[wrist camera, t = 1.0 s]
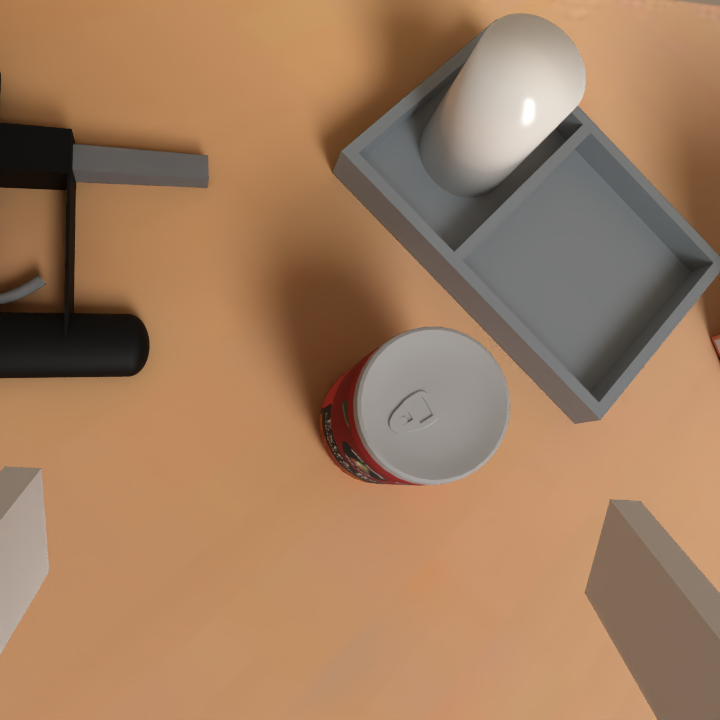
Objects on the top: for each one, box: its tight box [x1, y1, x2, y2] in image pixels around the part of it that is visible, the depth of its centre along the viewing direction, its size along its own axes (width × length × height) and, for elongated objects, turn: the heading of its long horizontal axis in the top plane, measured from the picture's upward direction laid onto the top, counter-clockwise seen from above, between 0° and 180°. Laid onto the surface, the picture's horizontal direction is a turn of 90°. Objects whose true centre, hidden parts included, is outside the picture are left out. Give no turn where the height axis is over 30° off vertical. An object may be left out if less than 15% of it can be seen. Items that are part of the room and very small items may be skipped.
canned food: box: [320, 327, 510, 485], centre depth 36 cm, size 8×8×11 cm
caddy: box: [332, 20, 720, 424], centre depth 45 cm, size 24×16×3 cm, turn 46°
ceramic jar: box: [420, 14, 586, 198], centre depth 41 cm, size 7×7×10 cm
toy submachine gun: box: [0, 73, 209, 378], centre depth 38 cm, size 3×20×16 cm
